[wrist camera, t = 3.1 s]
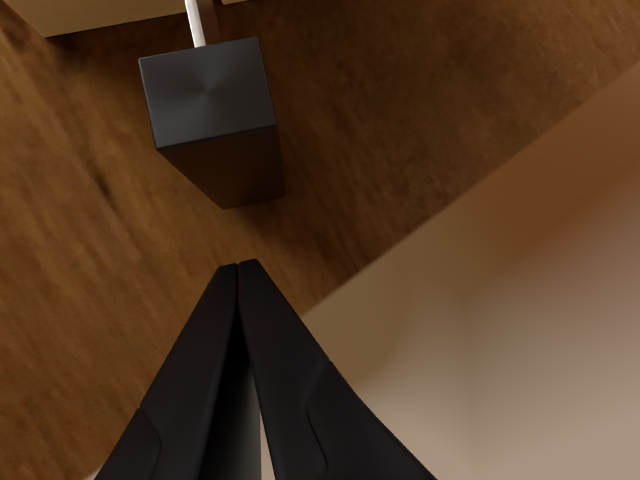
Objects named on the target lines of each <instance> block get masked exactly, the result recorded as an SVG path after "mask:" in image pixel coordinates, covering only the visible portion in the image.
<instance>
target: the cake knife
mask: <svg viewBox="0 0 640 480" xmlns="http://www.w3.org/2000/svg"><path fill="white" fill-rule="evenodd" d="M185 5H186V10H187V14H188V19H189V24H190V28H191V33H192V37H193V42H194V48H189V49H184V50H178V51H173V52H168V53H162V54H157V55H152V56H146V57H141V58H138V65H139V70H140V75H141V80H142V85H143V90H144V95H145V100H146V105H147V110H148V114H149V119H150V124H151V129H152V134H153V139H154V144H155V149H156V150H157V151H158V152H159V153H160V154H161V155H162V156H163V157H164V158H166V159H167V160H168V161H169V162H170V163H171V164H172V165H173V166H174V167H176V168H177V169H178V170H179V171H180V172H181V173H182V174H183V175H184V176H186V177H187V178H188V179H189V180H190V181H191V182H192V183H193V184H194V185H196V186H197V187H198V188H199V189H200V190H201V191H202V192H203V193H204V194H206V195H207V196H208V197H209V198H210V199H211V200H212V201H213V202H215V203H216V204H217V205H218V206H219V207H220V208H221V209H223V210H224V209H229V208H233V207H238V206H242V205H247V204H252V203H256V202H261V201H265V200H270V199H275V198H279V197H284V196H287V190H286V183H285V175H284V168H283V161H282V153H281V146H280V139H279V131H278V124H277V120H276V115H275V111H274V107H273V102H272V98H271V93H270V89H269V85H268V80H267V76H266V72H265V67H264V63H263V59H262V54H261V50H260V46H259V41H258V39H257V37H255V36H253V37H248V38H243V39H237V40H232V41H227V42H222V41H221V37H220V32H219V28H218V23H217V19H216V14H215V10H214V5H213V1H212V0H185Z"/></svg>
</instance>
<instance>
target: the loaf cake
mask: <svg viewBox="0 0 640 480" xmlns="http://www.w3.org/2000/svg"><path fill="white" fill-rule="evenodd" d="M4 1H5V2H6V3H7V4H8V5H9V6H10V7H11V8H12V9H13V10H14V11H15V12H16V13H18V14H19V15H20V16H21V17H22V18H23V19H24V20H25V21H26V22H27V23H28V24H29V25H30V26H31V27H32V28H33V29H35V30H36V31H37V32H38V33H39V34H40V35H41V36H42V37H50V36H55V35H61V34H67V33H72V32H78V31H83V30H89V29H94V28H100V27H106V26H111V25H117V24H122V23H128V22H133V21H139V20H144V19H150V18H156V17H161V16H167V15H172V14H178V13H183V12H187V10H186V5H185V0H4ZM242 1H248V0H221V2H222V4H223V5H225V4H231V3H236V2H242Z"/></svg>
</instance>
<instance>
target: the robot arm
mask: <svg viewBox="0 0 640 480" xmlns="http://www.w3.org/2000/svg"><path fill="white" fill-rule="evenodd" d="M260 411H261V416H262V420H263V424H264V430H265V434H266V439H267V443H268V448H269V452H270V457H271V461H272V466H273V471H274V475H275V480H437V479H436V478H435V477H434V476H433V475H432V474H431V473H430V472H429V471H428V470H427V469H426V468H425V467H424V466H423V465H422V464H421V462H420V461H419V460H418V459H417V458H416V457H415V456H414V455H413V454H412V453H411V452H410V451H409V450H408V449H407V448H406V447H405V446H404V445H403V444H402V443H401V442H400V441H399V440H398V439H397V438H396V437H395V436H394V434H393V433H392V432H391V431H390V430H389V429H388V428H387V427H386V426H385V425H384V424H383V423H382V422H381V421H380V420H379V419H378V418H377V417H376V416H375V415H374V413H373V412H372V411H371V410H370V409H369V408H368V407H367V406H366V405H365V404H364V402H363V401H362V400H361V399H360V398H359V397H358V396H357V394H356V393H355V392H354V391H353V389H352V388H351V387H350V386H349V384H348V383H347V382H346V380H345V379H344V378H343V377H342V375H341V374H340V373H339V371H338V370H337V368H336V367H335V366H334V364H333V363H332V362H331V361H329V358H328V356H327V355H326V354H325V352H324V351H323V350H322V348H321V347H320V345H319V344H318V343H317V341H316V340H315V338H314V337H313V336H312V334H311V333H310V331H309V330H308V329H307V327H306V326H305V325H304V323H303V322H302V320H301V319H300V318H299V316H298V315H297V313H296V312H295V311H294V309H293V308H292V307H291V305H290V304H289V302H288V301H287V300H286V298H285V297H284V295H283V294H282V293H281V291H280V290H279V289H278V287H277V286H276V284H275V283H274V282H273V280H272V279H271V278H270V276H269V275H268V273H267V272H266V271H265V269H264V268H263V266H262V265H261V264H260V262H259V261H258V260H257V259H251V260H246V261H242V262H240V263H239V264H238V265H237V264H236V263H233V264H228V265H224V266H220V267H218V268H217V270H216V271H215V273H214V275H213V277H212V278H211V280H210V282H209V284H208V285H207V287H206V289H205V291H204V292H203V294H202V296H201V298H200V299H199V301H198V303H197V305H196V306H195V308H194V310H193V312H192V314H191V315H190V317H189V319H188V321H187V322H186V324H185V326H184V328H183V329H182V331H181V333H180V335H179V336H178V338H177V340H176V342H175V343H174V345H173V347H172V349H171V350H170V352H169V354H168V356H167V357H166V359H165V361H164V363H163V364H162V366H161V368H160V370H159V371H158V373H157V375H156V377H155V379H154V380H153V382H152V384H151V386H150V387H149V389H148V391H147V393H146V394H145V396H144V398H143V400H142V401H141V403H140V408H138V409H137V410H136V412H135V413H134V415H133V417H132V419H131V420H130V422H129V424H128V426H127V427H126V429H125V431H124V432H123V434H122V436H121V437H120V439H119V441H118V442H117V444H116V446H115V447H114V449H113V451H112V452H111V454H110V456H109V457H108V459H107V460H106V462H105V463H104V465H103V467H102V468H101V470H100V471H99V473H98V474H97V476H96V477H95V479H94V480H261V441H260Z"/></svg>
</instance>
